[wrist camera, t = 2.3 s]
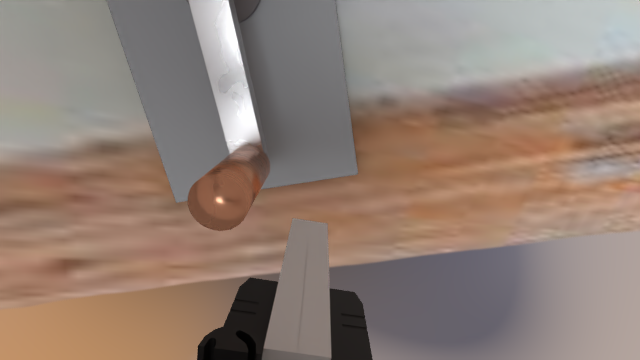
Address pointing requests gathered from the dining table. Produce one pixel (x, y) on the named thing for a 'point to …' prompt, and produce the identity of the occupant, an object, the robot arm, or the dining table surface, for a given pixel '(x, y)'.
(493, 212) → the dining table surface
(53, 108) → the dining table surface
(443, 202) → the dining table surface
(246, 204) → the lever
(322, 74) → the base
